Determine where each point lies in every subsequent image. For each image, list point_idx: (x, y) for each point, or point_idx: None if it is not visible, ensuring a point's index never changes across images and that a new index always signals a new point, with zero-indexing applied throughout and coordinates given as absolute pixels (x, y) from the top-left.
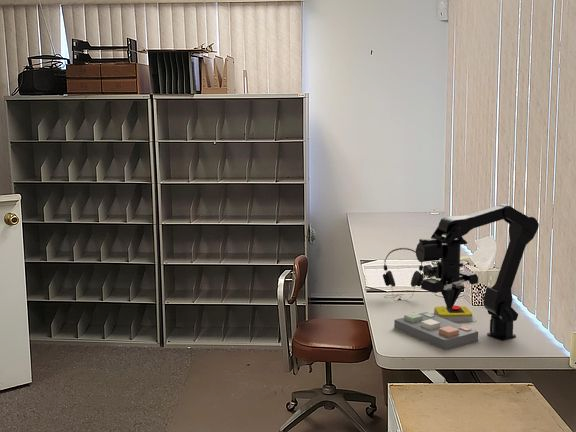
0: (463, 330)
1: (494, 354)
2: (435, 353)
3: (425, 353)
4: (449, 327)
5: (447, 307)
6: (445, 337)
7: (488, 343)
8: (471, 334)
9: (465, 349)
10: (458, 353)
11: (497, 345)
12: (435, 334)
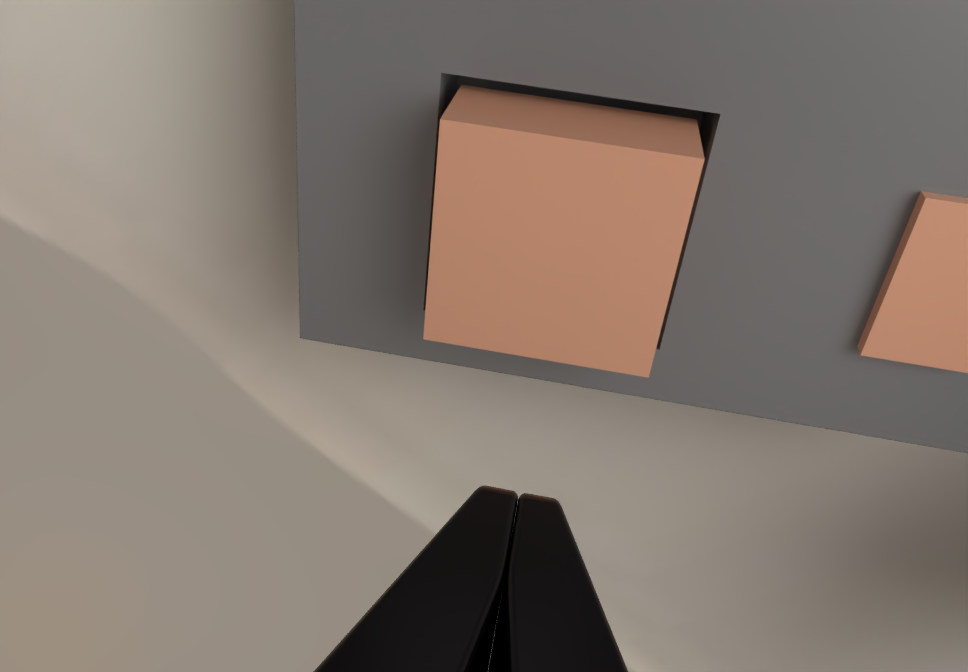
0: (870, 292)
1: (638, 628)
2: (174, 256)
3: (71, 179)
4: (630, 218)
5: (463, 518)
6: (386, 279)
7: (909, 486)
8: (820, 416)
9: (542, 408)
10: (387, 415)
11: (907, 566)
12: (358, 96)
